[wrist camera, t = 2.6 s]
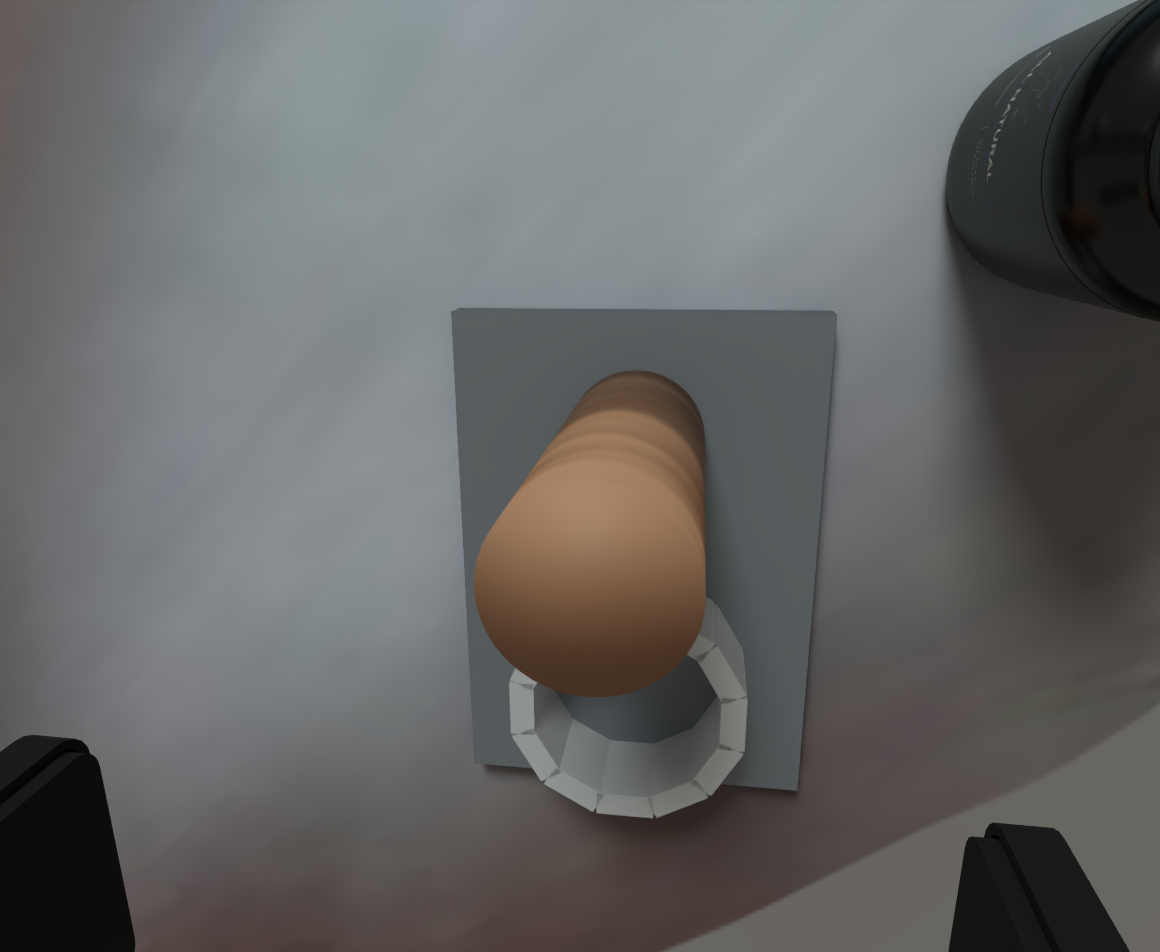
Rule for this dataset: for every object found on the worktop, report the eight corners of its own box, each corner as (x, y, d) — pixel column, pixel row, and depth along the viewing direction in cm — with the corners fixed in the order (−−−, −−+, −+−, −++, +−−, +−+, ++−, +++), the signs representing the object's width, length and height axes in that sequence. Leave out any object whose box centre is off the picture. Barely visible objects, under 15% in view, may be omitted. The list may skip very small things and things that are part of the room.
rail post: (568, 369, 27) (468, 478, 15) (707, 371, 26) (710, 487, 15) (570, 498, 28) (478, 689, 17) (701, 503, 27) (701, 705, 16)
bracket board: (460, 308, 28) (421, 321, 24) (832, 311, 26) (854, 326, 22) (481, 747, 32) (452, 817, 29) (794, 773, 31) (807, 850, 27)
